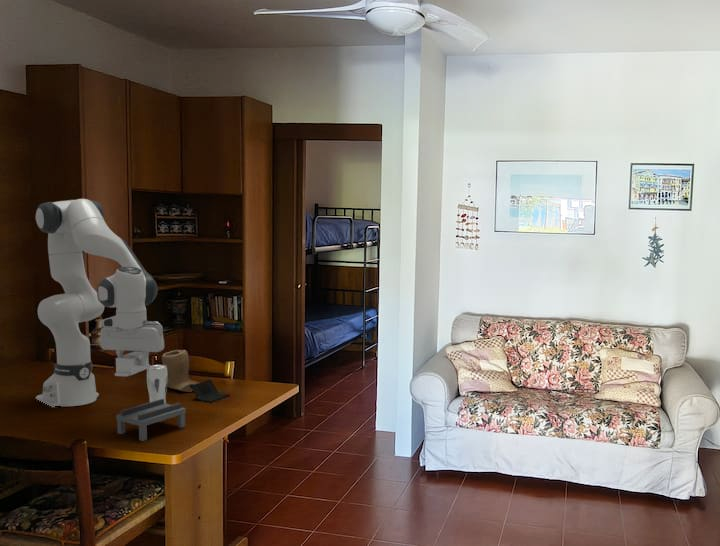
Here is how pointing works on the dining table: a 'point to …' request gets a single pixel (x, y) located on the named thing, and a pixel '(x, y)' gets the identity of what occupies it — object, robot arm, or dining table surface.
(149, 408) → the stand
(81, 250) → the robot arm
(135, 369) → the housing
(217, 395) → the dark grey angled bracket
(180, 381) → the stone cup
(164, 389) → the beer glass
